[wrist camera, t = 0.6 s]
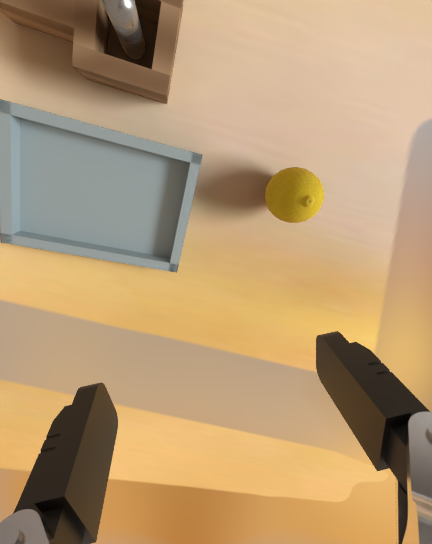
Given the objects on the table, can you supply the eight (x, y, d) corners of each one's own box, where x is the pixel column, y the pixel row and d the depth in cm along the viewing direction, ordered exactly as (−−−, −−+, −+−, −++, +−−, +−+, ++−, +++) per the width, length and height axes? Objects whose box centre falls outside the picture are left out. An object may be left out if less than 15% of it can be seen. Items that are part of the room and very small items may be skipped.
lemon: (297, 214, 35) (331, 231, 27) (254, 213, 34) (277, 230, 27) (305, 166, 33) (344, 171, 25) (259, 164, 32) (285, 168, 24)
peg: (124, 28, 25) (102, -30, 17) (146, 36, 26) (136, -17, 18) (121, 54, 26) (99, 10, 18) (143, 62, 26) (131, 22, 18)
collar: (14, -55, 22) (-21, -101, 18) (182, 11, 25) (184, -16, 21) (15, 56, 25) (-16, 38, 21) (167, 103, 28) (166, 95, 24)
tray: (12, 102, 26) (-3, 98, 24) (200, 154, 30) (202, 154, 28) (13, 235, 31) (0, 242, 28) (176, 264, 35) (176, 272, 33)
